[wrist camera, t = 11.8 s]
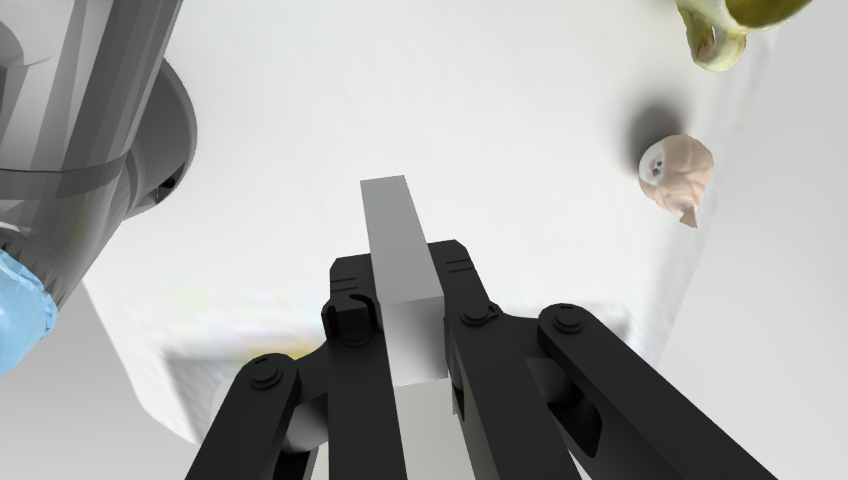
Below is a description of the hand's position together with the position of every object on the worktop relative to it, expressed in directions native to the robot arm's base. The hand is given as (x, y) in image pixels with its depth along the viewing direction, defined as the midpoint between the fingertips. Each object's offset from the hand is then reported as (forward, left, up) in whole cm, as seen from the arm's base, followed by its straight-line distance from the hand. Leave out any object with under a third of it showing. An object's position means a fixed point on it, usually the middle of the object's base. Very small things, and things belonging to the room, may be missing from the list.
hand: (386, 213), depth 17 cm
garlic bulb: (+28, -12, -25) cm, 39 cm away
